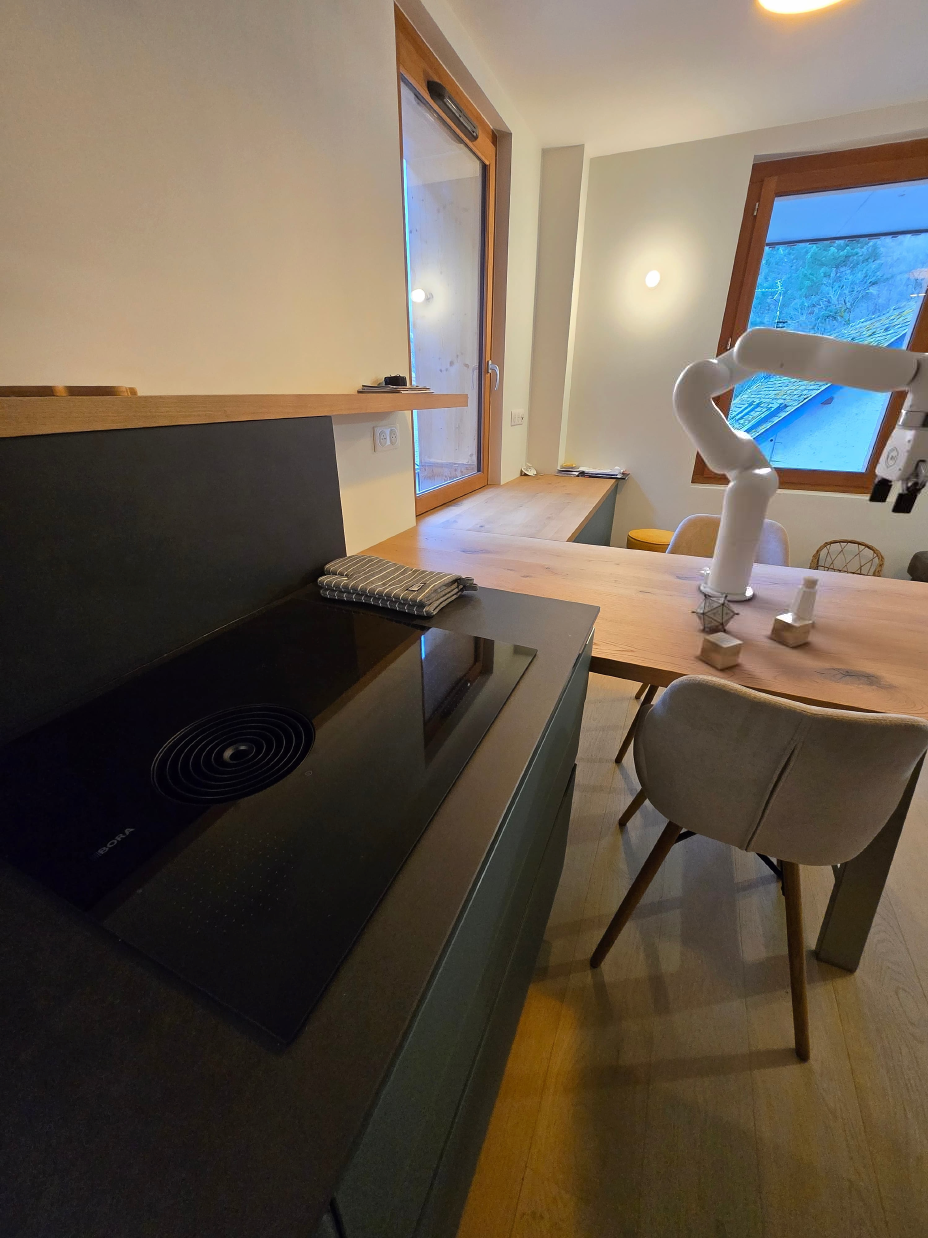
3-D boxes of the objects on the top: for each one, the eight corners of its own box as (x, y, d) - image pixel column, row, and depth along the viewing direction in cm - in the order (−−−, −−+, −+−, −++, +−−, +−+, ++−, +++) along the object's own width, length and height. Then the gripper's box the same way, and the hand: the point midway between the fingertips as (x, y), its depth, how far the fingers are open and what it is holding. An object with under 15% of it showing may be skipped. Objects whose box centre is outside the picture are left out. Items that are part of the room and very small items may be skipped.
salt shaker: (803, 629, 112) (818, 584, 107) (779, 620, 116) (792, 576, 111) (816, 623, 114) (830, 578, 110) (791, 614, 119) (804, 571, 114)
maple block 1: (698, 658, 101) (703, 636, 99) (716, 652, 103) (721, 631, 101) (719, 669, 97) (724, 647, 95) (737, 664, 99) (743, 642, 96)
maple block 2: (769, 637, 108) (775, 617, 106) (784, 633, 110) (790, 612, 108) (790, 647, 104) (797, 626, 102) (806, 642, 106) (813, 621, 104)
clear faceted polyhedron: (714, 646, 113) (735, 627, 104) (680, 627, 115) (697, 606, 106) (731, 618, 116) (752, 597, 107) (697, 600, 118) (714, 578, 109)
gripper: (878, 417, 106) (849, 497, 113) (925, 424, 90) (888, 516, 98) (919, 418, 104) (887, 499, 112) (973, 425, 89) (932, 519, 97)
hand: (888, 507), depth 105 cm, fingers open, 9 cm apart
